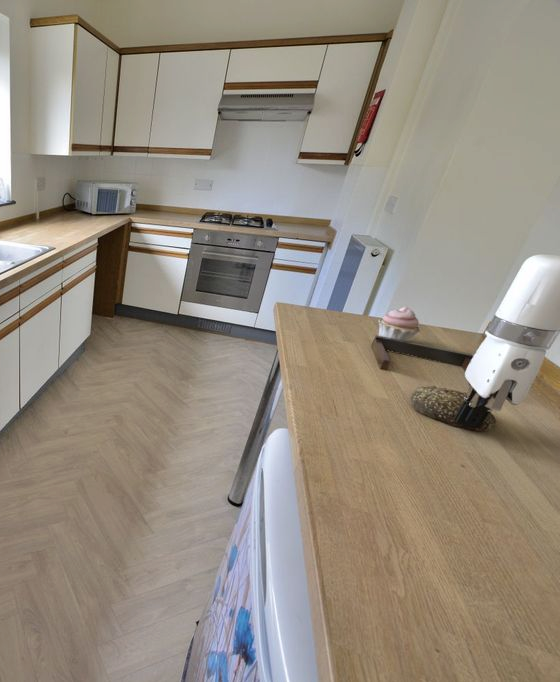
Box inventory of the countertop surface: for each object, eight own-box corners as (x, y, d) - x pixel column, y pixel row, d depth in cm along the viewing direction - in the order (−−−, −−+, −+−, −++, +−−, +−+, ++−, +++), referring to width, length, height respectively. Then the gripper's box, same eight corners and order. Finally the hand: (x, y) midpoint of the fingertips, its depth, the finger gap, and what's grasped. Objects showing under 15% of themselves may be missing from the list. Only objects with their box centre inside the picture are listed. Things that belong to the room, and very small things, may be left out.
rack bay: (465, 365, 101) (471, 353, 100) (488, 393, 89) (496, 380, 87) (371, 345, 110) (375, 335, 108) (380, 369, 97) (385, 357, 96)
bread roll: (404, 410, 81) (414, 388, 79) (414, 389, 89) (423, 369, 87) (493, 442, 73) (508, 418, 71) (496, 416, 81) (509, 394, 78)
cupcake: (363, 334, 117) (376, 301, 113) (390, 333, 118) (404, 300, 114) (393, 348, 108) (409, 313, 104) (422, 347, 110) (438, 312, 106)
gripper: (578, 355, 59) (511, 454, 67) (530, 323, 71) (478, 410, 79) (509, 342, 62) (452, 439, 70) (474, 313, 74) (429, 399, 82)
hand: (466, 423), depth 74 cm, fingers closed
